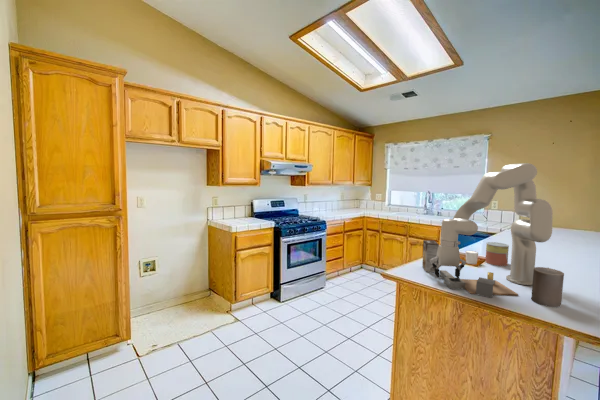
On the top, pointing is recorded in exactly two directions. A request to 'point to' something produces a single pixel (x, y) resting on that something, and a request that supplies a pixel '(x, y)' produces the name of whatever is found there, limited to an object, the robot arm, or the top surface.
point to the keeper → (485, 287)
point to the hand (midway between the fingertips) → (446, 276)
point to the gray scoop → (452, 280)
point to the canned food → (497, 254)
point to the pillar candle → (547, 286)
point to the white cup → (471, 257)
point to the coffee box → (429, 254)
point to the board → (497, 288)
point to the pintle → (490, 275)
